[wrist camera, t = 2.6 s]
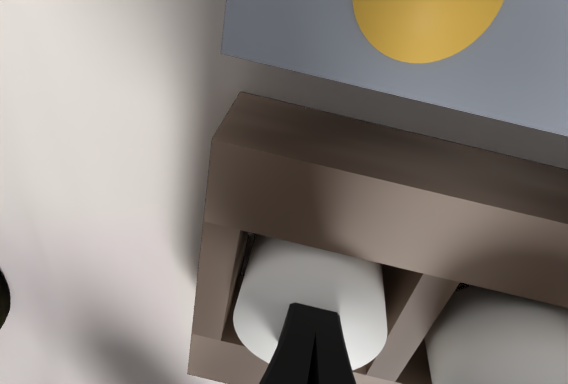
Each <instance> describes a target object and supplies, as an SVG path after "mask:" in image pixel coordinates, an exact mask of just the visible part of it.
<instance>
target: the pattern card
mask: <svg viewBox="0 0 568 384" xmlns="http://www.w3.org/2000/svg"><path fill="white" fill-rule="evenodd" d="M221 54H225V55H229V56H233V57H237V58H242V59H246V60H250V61H254V62H258V63H262V64H267V65H271V66H275V67H279V68H283V69H288V70H292V71H296V72H300V73H304V74H308V75H313V76H317V77H321V78H325V79H329V80H334V81H338V82H342V83H346V84H350V85H354V86H359V87H363V88H367V89H371V90H375V91H379V92H384V93H388V94H392V95H396V96H400V97H405V98H409V99H413V100H417V101H421V102H425V103H430V104H434V105H438V106H442V107H446V108H451V109H455V110H459V111H463V112H467V113H471V114H476V115H480V116H484V117H488V118H492V119H497V120H501V121H505V122H509V123H513V124H517V125H522V126H526V127H530V128H534V129H538V130H542V131H547V132H551V133H555V134H559V135H563V136H568V0H226V8H225V18H224V27H223V37H222V46H221Z"/></svg>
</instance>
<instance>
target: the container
mask: <svg viewBox="0 0 568 384" xmlns="http://www.w3.org/2000/svg"><path fill="white" fill-rule="evenodd" d="M9 310H10V293H9V290H8V287H7V284H6V282H5V280H4V277H3V276H2V274H1V273H0V329H1V327H2V326H3V324H4V322H5V320H6V318H7V315H8V313H9Z"/></svg>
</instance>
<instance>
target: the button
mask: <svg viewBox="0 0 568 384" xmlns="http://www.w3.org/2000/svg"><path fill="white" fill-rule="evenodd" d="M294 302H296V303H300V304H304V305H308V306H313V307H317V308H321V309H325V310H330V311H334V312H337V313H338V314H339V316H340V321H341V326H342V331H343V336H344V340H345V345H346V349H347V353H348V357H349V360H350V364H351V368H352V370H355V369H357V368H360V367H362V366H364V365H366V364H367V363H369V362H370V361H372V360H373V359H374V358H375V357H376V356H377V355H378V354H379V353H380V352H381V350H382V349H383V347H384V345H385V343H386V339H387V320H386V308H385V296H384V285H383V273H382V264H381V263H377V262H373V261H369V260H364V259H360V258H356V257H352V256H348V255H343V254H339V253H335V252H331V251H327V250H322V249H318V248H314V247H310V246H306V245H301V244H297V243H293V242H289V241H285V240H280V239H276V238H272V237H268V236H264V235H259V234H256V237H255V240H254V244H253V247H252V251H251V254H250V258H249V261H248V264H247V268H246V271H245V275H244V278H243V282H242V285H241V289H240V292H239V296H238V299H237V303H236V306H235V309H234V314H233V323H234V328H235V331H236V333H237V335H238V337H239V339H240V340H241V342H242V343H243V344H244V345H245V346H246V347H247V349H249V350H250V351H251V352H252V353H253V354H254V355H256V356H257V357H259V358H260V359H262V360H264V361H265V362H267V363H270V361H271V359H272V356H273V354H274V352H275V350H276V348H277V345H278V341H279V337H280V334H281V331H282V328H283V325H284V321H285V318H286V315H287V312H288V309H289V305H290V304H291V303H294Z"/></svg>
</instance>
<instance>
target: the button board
mask: <svg viewBox="0 0 568 384" xmlns="http://www.w3.org/2000/svg"><path fill="white" fill-rule="evenodd" d="M248 232H251V233H255V234H259V235H264V236H268V237H272V238H276V239H280V240H285V241H289V242H293V243H297V244H301V245H306V246H310V247H314V248H318V249H322V250H327V251H331V252H335V253H339V254H343V255H348V256H352V257H356V258H360V259H364V260H369V261H373V262H377V263H381V264H383V265H382V273H383V285H384V296H385V308H386V320H387V339H386V343H385V345H384V347H383V349H382V350H381V352H380V353H379V354H378V355H377V356H376V357H375V358H374V359H373V360H372V361H370V362H369V363H367V364H366V365H364V366H362V367H360V368H357V369H355V370H352V371H353V374H354V378H355V381H356V384H432V380H431V374H430V368H429V362H428V356H427V350H426V344H425V338H424V337H425V335H426V334H427V332H428V331H429V329H430V328H431V326H432V325H433V323H434V322H435V320H436V318H437V317H438V315H439V314H440V312H441V311H442V309H443V308H444V306H445V305H446V303H447V302H448V300H449V299H450V297H451V295H452V294H453V292H454V291H455V289H456V288H457V286H458V285H459V283H460V282H461V283H465V284H469V285H474V286H478V287H482V288H486V289H490V290H495V291H499V292H503V293H507V294H511V295H516V296H520V297H524V298H528V299H532V300H537V301H541V302H545V303H549V304H553V305H558V306H562V307H566V308H568V170H566V169H562V168H557V167H553V166H549V165H545V164H541V163H537V162H532V161H528V160H524V159H520V158H516V157H511V156H507V155H503V154H499V153H495V152H491V151H486V150H482V149H478V148H474V147H470V146H465V145H461V144H457V143H453V142H449V141H444V140H440V139H436V138H432V137H428V136H424V135H419V134H415V133H411V132H407V131H403V130H398V129H394V128H390V127H386V126H382V125H378V124H373V123H369V122H365V121H361V120H357V119H352V118H348V117H344V116H340V115H336V114H332V113H327V112H323V111H319V110H315V109H311V108H306V107H302V106H298V105H294V104H290V103H286V102H281V101H277V100H273V99H269V98H265V97H260V96H256V95H252V94H248V93H244V92H240V93H239V95H238V96H237V98H236V100H235V101H234V103H233V105H232V106H231V108H230V110H229V111H228V113H227V115H226V116H225V118H224V120H223V121H222V123H221V125H220V126H219V128H218V130H217V131H216V133H215V135H214V136H213V138H212V142H211V152H210V162H209V171H208V181H207V190H206V200H205V210H204V219H203V229H202V238H201V248H200V257H199V267H198V277H197V286H196V296H195V305H194V315H193V325H192V334H191V344H190V353H189V363H188V373H187V374H189V375H193V376H197V377H201V378H206V379H210V380H214V381H218V382H223V383H227V384H259V383H260V381H261V379H262V377H263V375H264V373H265V371H266V369H267V367H268V365H269V363H267V362H265V361H264V360H262V359H260V358H259V357H257V356H256V355H254V354H253V353H252V352H251V351H250V350H249V349H247V347H246V346H245V345H244V344H243V343H242V342H241V340H240V339H239V337H238V335H237V333H236V331H235V328H234V323H233V314H234V309H235V306H236V303H237V299H238V296H239V292H240V289H241V285H242V282H243V278H244V276H240V274H241V269H242V264H243V258H244V253H245V248H246V243H247V237H248Z"/></svg>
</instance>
